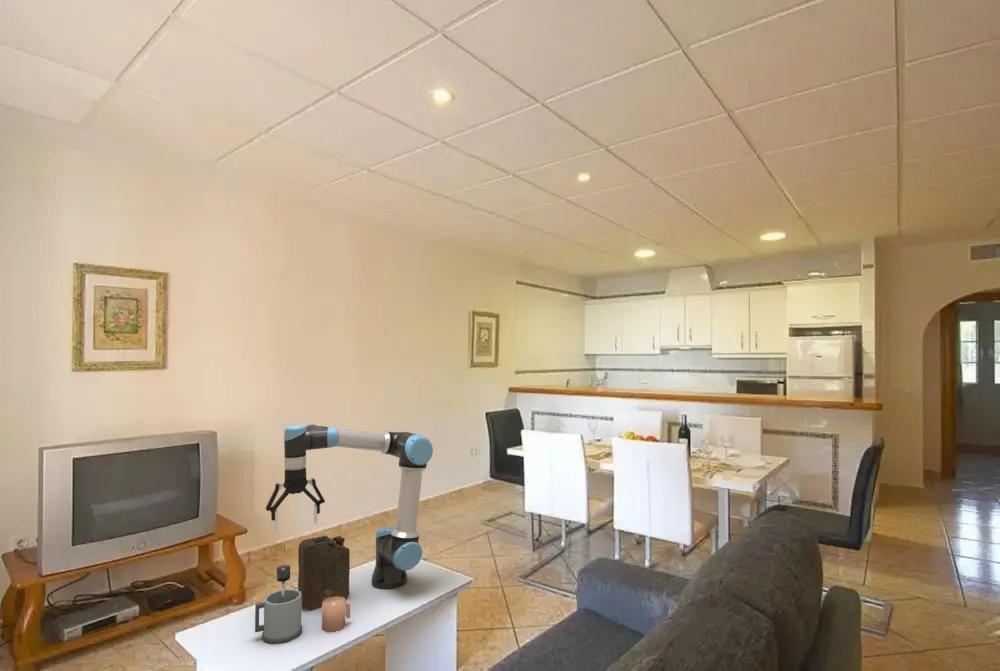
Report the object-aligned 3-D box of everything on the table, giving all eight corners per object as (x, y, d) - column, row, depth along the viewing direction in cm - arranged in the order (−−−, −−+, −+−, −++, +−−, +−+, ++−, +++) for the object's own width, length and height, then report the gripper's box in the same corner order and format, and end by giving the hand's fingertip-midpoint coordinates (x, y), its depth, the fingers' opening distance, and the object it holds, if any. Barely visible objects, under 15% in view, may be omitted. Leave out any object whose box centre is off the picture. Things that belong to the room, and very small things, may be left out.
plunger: (295, 611, 193) (296, 560, 194) (297, 623, 184) (298, 569, 185) (268, 616, 189) (269, 565, 190) (268, 628, 181) (269, 574, 181)
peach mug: (347, 618, 198) (348, 593, 198) (351, 628, 190) (351, 602, 191) (320, 624, 194) (321, 598, 194) (323, 634, 186) (323, 608, 187)
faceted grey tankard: (300, 622, 195) (301, 586, 196) (303, 639, 183) (304, 600, 184) (254, 631, 189) (255, 593, 189) (254, 649, 177) (255, 609, 177)
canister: (303, 613, 202) (304, 546, 203) (296, 605, 209) (297, 540, 210) (350, 598, 214) (351, 535, 215) (342, 591, 220) (342, 530, 222)
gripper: (328, 462, 206) (329, 517, 205) (258, 469, 195) (258, 528, 194) (332, 465, 199) (332, 523, 198) (258, 473, 188) (259, 534, 187)
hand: (296, 525), depth 196 cm, fingers open, 13 cm apart
